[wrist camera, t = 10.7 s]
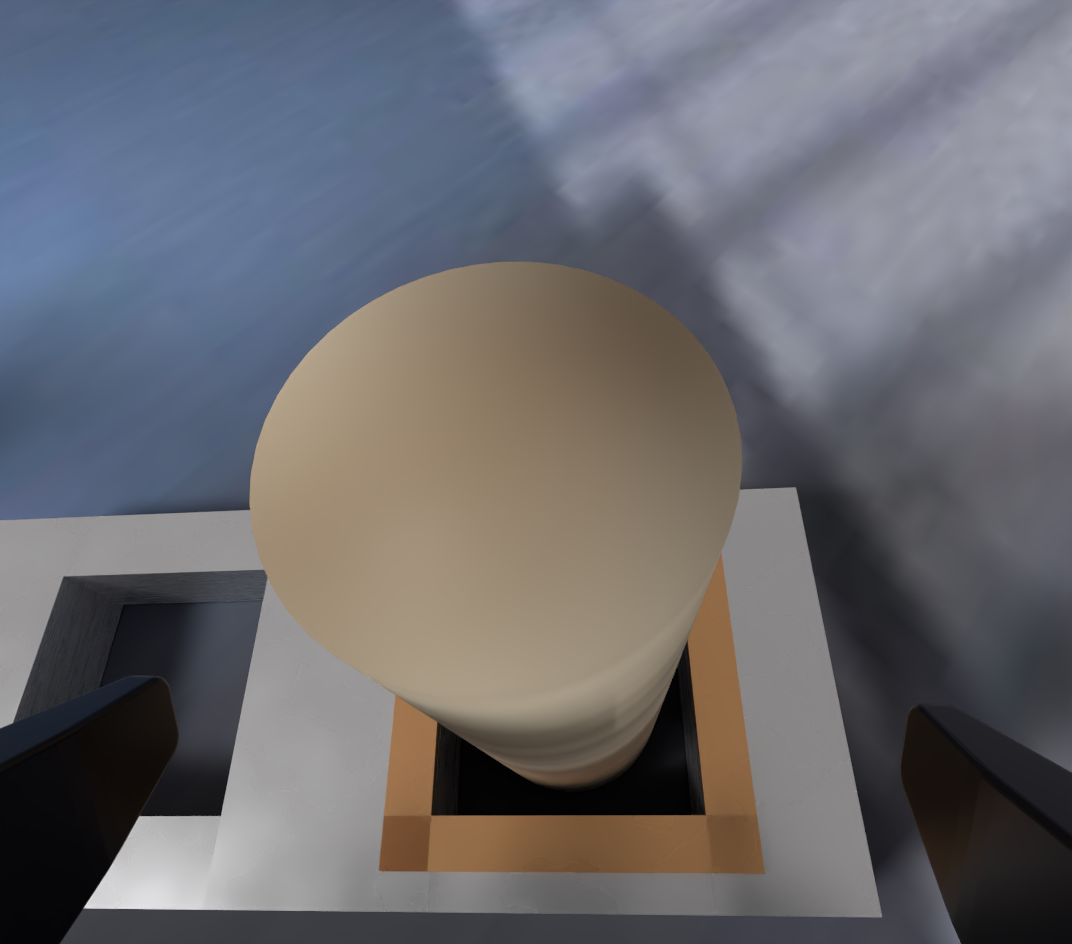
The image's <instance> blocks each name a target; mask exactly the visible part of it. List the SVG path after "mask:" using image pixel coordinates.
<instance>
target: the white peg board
mask: <svg viewBox="0 0 1072 944" xmlns="http://www.w3.org/2000/svg"><path fill="white" fill-rule="evenodd" d="M234 601H263V604H262V609H261V614H260V619H259V624H258V629H257V635H256V640H255V645H254V650H253V655H252V660H251V665H250V670H249V675H248V680H247V686H246V691H245V696H244V701H243V706H242V711H241V716H240V721H239V726H238V732H237V737H236V742H235V747H234V752H233V757H232V762H231V767H230V772H229V777H228V783H227V788H226V793H225V798H224V803H223V808H222V813H221V816H139V818H138V819H137V821H136V823H135V825H134V827H133V828H132V830H131V832H130V834H129V836H128V838H127V839H126V841H125V843H124V845H123V847H122V848H121V850H120V852H119V853H118V855H117V857H116V858H115V860H114V862H113V864H112V865H111V867H110V869H109V870H108V872H107V873H106V875H105V876H104V878H103V880H102V881H101V883H100V884H99V886H98V887H97V889H96V890H95V892H94V893H93V895H92V896H91V898H90V899H89V901H88V902H87V904H86V905H85V907H84V908H104V909H193V910H282V911H371V912H460V913H549V914H637V915H726V916H815V917H882V914H881V909H880V904H879V899H878V894H877V889H876V884H875V879H874V874H873V869H872V864H871V859H870V854H869V849H868V844H867V839H866V834H865V829H864V824H863V819H862V814H861V809H860V804H859V799H858V794H857V789H856V784H855V779H854V774H853V769H852V764H851V759H850V754H849V749H848V744H847V739H846V734H845V729H844V724H843V719H842V714H841V709H840V704H839V699H838V694H837V689H836V684H835V679H834V674H833V670H832V665H831V660H830V655H829V650H828V645H827V640H826V635H825V630H824V625H823V620H822V615H821V610H820V605H819V600H818V595H817V590H816V585H815V580H814V575H813V570H812V565H811V560H810V555H809V550H808V545H807V540H806V535H805V530H804V525H803V520H802V515H801V510H800V505H799V500H798V495H797V490H796V487H792V488H768V489H744V490H740V492H739V499H738V503H737V507H736V510H735V514H734V518H733V521H732V525H731V529H730V531H729V534H728V536H727V539H726V541H725V544H724V547H723V549H722V552H721V554H720V557H719V559H718V562H717V565H716V567H715V570H714V572H713V575H712V578H711V580H710V583H709V585H708V588H707V590H706V593H705V596H704V598H703V601H702V603H701V606H700V608H699V611H698V614H697V616H696V619H695V621H694V624H693V627H692V629H691V632H690V634H689V637H688V639H687V642H686V645H685V647H684V650H683V652H682V655H681V657H680V660H679V663H678V665H677V668H678V679H679V689H680V700H681V710H682V720H683V731H684V741H685V752H686V762H687V773H688V783H689V794H690V804H691V815H540V816H457V808H458V788H459V767H460V747H461V737H460V736H458V735H457V734H455V733H454V732H452V731H451V730H449V729H447V728H446V727H444V726H443V725H441V724H440V723H438V722H437V721H435V720H433V719H432V718H430V717H429V716H427V715H426V714H424V713H423V712H421V711H419V710H418V709H416V708H415V707H413V706H412V705H410V704H409V703H407V702H405V701H404V700H402V699H401V698H399V697H398V696H396V695H395V694H393V693H391V692H390V691H388V690H387V689H385V688H384V687H382V686H381V685H379V684H377V683H376V682H374V681H373V680H371V679H370V678H368V677H367V676H365V675H363V674H362V673H360V672H359V671H357V670H356V669H354V668H353V667H351V666H349V665H348V664H346V663H345V662H343V661H342V660H340V659H339V658H337V657H335V656H334V655H333V654H332V653H330V652H329V651H328V650H327V649H325V648H324V647H323V646H322V645H320V644H319V643H318V642H317V641H316V640H314V639H313V638H312V637H311V636H309V635H308V634H307V632H306V631H305V630H304V629H303V628H302V627H301V626H300V625H299V624H298V622H297V621H296V620H295V619H294V618H293V617H292V616H291V615H290V613H289V612H288V611H287V610H286V608H285V606H284V605H283V603H282V602H281V600H280V599H279V597H278V596H277V594H276V592H275V591H274V589H273V588H272V586H271V584H270V582H269V579H268V577H267V575H266V572H265V570H264V568H263V566H262V563H261V561H260V559H259V555H258V551H257V547H256V543H255V539H254V535H253V532H252V522H251V512H250V510H240V511H216V512H192V513H168V514H144V515H120V516H96V517H72V518H48V519H24V520H0V728H2V727H4V726H7V725H9V724H12V723H14V722H17V721H19V720H22V719H24V718H27V717H29V716H32V715H34V714H36V713H39V712H41V711H44V710H46V709H49V708H51V707H54V706H56V705H59V704H61V703H64V702H66V701H69V700H71V699H73V698H76V697H78V696H81V695H83V694H86V693H88V692H91V691H93V690H96V689H98V688H99V687H100V683H101V680H102V677H103V673H104V670H105V666H106V663H107V660H108V656H109V653H110V649H111V646H112V643H113V639H114V636H115V632H116V629H117V626H118V622H119V619H120V616H121V612H122V609H123V605H133V604H167V603H200V602H234Z"/></svg>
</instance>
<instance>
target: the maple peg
mask: <svg viewBox="0 0 1072 944" xmlns="http://www.w3.org/2000/svg"><path fill="white" fill-rule="evenodd" d="M741 474H742V451H741V436H740V431H739V426H738V421H737V416H736V411H735V408H734V405H733V402H732V400H731V397H730V394H729V392H728V389H727V386H726V384H725V382H724V380H723V378H722V376H721V374H720V373H719V371H718V369H717V367H716V365H715V363H714V362H713V360H712V358H711V357H710V356H709V354H708V353H707V352H706V350H705V349H704V348H703V346H702V345H701V344H700V342H699V341H698V340H697V338H696V337H695V336H694V335H693V334H692V333H691V332H690V331H689V330H688V329H687V328H686V327H685V326H684V325H683V324H682V323H681V322H680V321H679V320H678V319H677V318H675V317H674V316H673V315H671V314H670V313H669V312H668V311H666V310H665V309H664V308H663V307H661V306H660V305H659V304H657V303H656V302H654V301H653V300H651V299H649V298H648V297H646V296H644V295H643V294H641V293H639V292H638V291H636V290H634V289H632V288H630V287H628V286H625V285H623V284H621V283H619V282H617V281H614V280H612V279H610V278H607V277H604V276H601V275H598V274H594V273H591V272H588V271H585V270H581V269H576V268H571V267H566V266H562V265H556V264H546V263H536V262H497V263H487V264H477V265H471V266H466V267H461V268H456V269H451V270H447V271H444V272H440V273H437V274H433V275H430V276H427V277H423V278H421V279H418V280H416V281H413V282H411V283H408V284H406V285H403V286H401V287H398V288H396V289H394V290H392V291H390V292H388V293H387V294H385V295H383V296H381V297H379V298H377V299H375V300H373V301H372V302H370V303H368V304H367V305H365V306H364V307H362V308H361V309H359V310H358V311H356V312H355V313H353V314H351V315H350V316H349V317H348V318H346V319H345V320H344V321H343V322H341V323H340V324H339V325H338V326H336V327H335V328H334V329H333V330H331V331H330V332H329V333H328V334H327V335H326V336H325V337H324V338H323V339H322V340H321V341H320V342H319V343H318V344H317V345H316V346H315V347H314V348H313V349H312V350H311V351H310V352H309V353H308V354H307V355H306V356H305V358H304V359H303V360H302V361H301V362H300V364H299V365H298V366H297V367H296V369H295V370H294V371H293V372H292V374H291V375H290V377H289V378H288V380H287V381H286V383H285V385H284V386H283V388H282V389H281V391H280V392H279V394H278V395H277V397H276V399H275V401H274V403H273V406H272V408H271V410H270V412H269V414H268V416H267V418H266V420H265V422H264V425H263V428H262V431H261V434H260V437H259V440H258V443H257V446H256V451H255V456H254V461H253V466H252V472H251V483H250V512H251V522H252V532H253V535H254V539H255V543H256V547H257V551H258V555H259V559H260V561H261V563H262V566H263V568H264V570H265V572H266V575H267V577H268V579H269V582H270V584H271V586H272V588H273V589H274V591H275V592H276V594H277V596H278V597H279V599H280V600H281V602H282V603H283V605H284V606H285V608H286V610H287V611H288V612H289V613H290V615H291V616H292V617H293V618H294V619H295V620H296V621H297V622H298V624H299V625H300V626H301V627H302V628H303V629H304V630H305V631H306V632H307V634H308V635H309V636H311V637H312V638H313V639H314V640H316V641H317V642H318V643H319V644H320V645H322V646H323V647H324V648H325V649H327V650H328V651H329V652H330V653H332V654H333V655H334V656H335V657H337V658H339V659H340V660H342V661H343V662H345V663H346V664H348V665H349V666H351V667H353V668H354V669H356V670H357V671H359V672H360V673H362V674H363V675H365V676H367V677H368V678H370V679H371V680H373V681H374V682H376V683H377V684H379V685H381V686H382V687H384V688H385V689H387V690H388V691H390V692H391V693H393V694H395V695H396V696H398V697H399V698H401V699H402V700H404V701H405V702H407V703H409V704H410V705H412V706H413V707H415V708H416V709H418V710H419V711H421V712H423V713H424V714H426V715H427V716H429V717H430V718H432V719H433V720H435V721H437V722H438V723H440V724H441V725H443V726H444V727H446V728H447V729H449V730H451V731H452V732H454V733H455V734H457V735H458V736H460V737H461V738H463V739H464V740H466V741H468V742H469V743H471V744H472V745H474V746H475V747H477V748H478V749H480V750H482V751H483V752H485V753H486V754H488V755H489V756H491V757H492V758H494V759H496V760H497V761H499V762H500V763H502V764H503V765H505V766H506V767H508V768H510V769H511V770H513V771H514V772H516V773H517V774H519V775H520V776H522V777H524V778H525V779H527V780H529V781H530V782H532V783H534V784H536V785H538V786H541V787H543V788H546V789H550V790H554V791H560V792H582V791H587V790H592V789H595V788H598V787H601V786H604V785H606V784H608V783H610V782H612V781H614V780H615V779H616V778H618V777H619V776H621V775H622V774H623V773H625V772H626V771H627V770H628V769H629V768H630V767H631V766H632V765H633V764H634V762H635V761H636V760H637V759H638V757H639V756H640V755H641V753H642V751H643V750H644V748H645V746H646V744H647V742H648V739H649V737H650V735H651V732H652V730H653V727H654V725H655V722H656V719H657V717H658V714H659V712H660V709H661V706H662V704H663V701H664V699H665V696H666V694H667V691H668V688H669V686H670V683H671V681H672V678H673V676H674V673H675V670H676V668H677V665H678V663H679V660H680V657H681V655H682V652H683V650H684V647H685V645H686V642H687V639H688V637H689V634H690V632H691V629H692V627H693V624H694V621H695V619H696V616H697V614H698V611H699V608H700V606H701V603H702V601H703V598H704V596H705V593H706V590H707V588H708V585H709V583H710V580H711V578H712V575H713V572H714V570H715V567H716V565H717V562H718V559H719V557H720V554H721V552H722V549H723V547H724V544H725V541H726V539H727V536H728V534H729V531H730V529H731V525H732V521H733V518H734V514H735V510H736V507H737V503H738V499H739V492H740V483H741Z"/></svg>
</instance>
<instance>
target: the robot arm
mask: <svg viewBox="0 0 1072 944" xmlns="http://www.w3.org/2000/svg"><path fill="white" fill-rule="evenodd" d="M178 739H179V730H178V724H177V720H176V715H175V710H174V705H173V701H172V696H171V691H170V687H169V684H168V683H167V681H166V680H165V679H164V678H162V677H160V676H140V675H133V676H128V677H125V678H123V679H120V680H118V681H115V682H113V683H110V684H108V685H105V686H103V687H101V688H98V689H96V690H93V691H91V692H88V693H86V694H83V695H81V696H78V697H76V698H73V699H71V700H69V701H66V702H64V703H61V704H59V705H56V706H54V707H51V708H49V709H46V710H44V711H41V712H39V713H36V714H34V715H32V716H29V717H27V718H24V719H22V720H19V721H17V722H14V723H12V724H9V725H7V726H4V727H2V728H0V944H60V943H61V941H62V940H63V938H64V937H65V935H66V934H67V932H68V931H69V929H70V928H71V926H72V925H73V923H74V922H75V920H76V919H77V917H78V916H79V914H80V913H81V911H82V910H83V908H84V907H85V905H86V904H87V902H88V901H89V899H90V898H91V896H92V895H93V893H94V892H95V890H96V889H97V887H98V886H99V884H100V883H101V881H102V880H103V878H104V876H105V875H106V873H107V872H108V870H109V869H110V867H111V865H112V864H113V862H114V860H115V858H116V857H117V855H118V853H119V852H120V850H121V848H122V847H123V845H124V843H125V841H126V839H127V838H128V836H129V834H130V832H131V830H132V828H133V827H134V825H135V823H136V821H137V819H138V818H139V816H140V814H141V812H142V810H143V809H144V807H145V805H146V803H147V801H148V800H149V798H150V796H151V794H152V792H153V791H154V789H155V787H156V785H157V783H158V782H159V780H160V778H161V776H162V774H163V773H164V771H165V769H166V767H167V765H168V763H169V762H170V760H171V758H172V756H173V754H174V752H175V750H176V747H177V744H178ZM900 773H901V780H902V784H903V788H904V791H905V794H906V796H907V799H908V802H909V805H910V808H911V811H912V813H913V816H914V819H915V822H916V825H917V827H918V830H919V833H920V836H921V839H922V841H923V844H924V847H925V850H926V853H927V855H928V858H929V861H930V864H931V867H932V869H933V872H934V875H935V878H936V881H937V883H938V886H939V889H940V892H941V895H942V897H943V900H944V903H945V906H946V908H947V911H948V913H949V916H950V919H951V921H952V924H953V926H954V928H955V931H956V933H957V935H958V937H959V940H960V942H961V944H1072V773H1071V772H1069V771H1068V770H1066V769H1064V768H1062V767H1061V766H1059V765H1057V764H1055V763H1054V762H1052V761H1050V760H1048V759H1046V758H1045V757H1043V756H1041V755H1039V754H1038V753H1036V752H1034V751H1032V750H1031V749H1029V748H1027V747H1025V746H1024V745H1022V744H1020V743H1018V742H1016V741H1015V740H1013V739H1011V738H1009V737H1008V736H1006V735H1004V734H1002V733H1001V732H999V731H997V730H995V729H994V728H992V727H990V726H988V725H986V724H985V723H983V722H981V721H979V720H978V719H976V718H974V717H972V716H971V715H969V714H967V713H965V712H964V711H962V710H960V709H958V708H956V707H954V706H951V705H945V704H915V705H914V706H913V707H911V708H910V710H909V713H908V716H907V722H906V729H905V736H904V743H903V750H902V756H901V764H900Z"/></svg>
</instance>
